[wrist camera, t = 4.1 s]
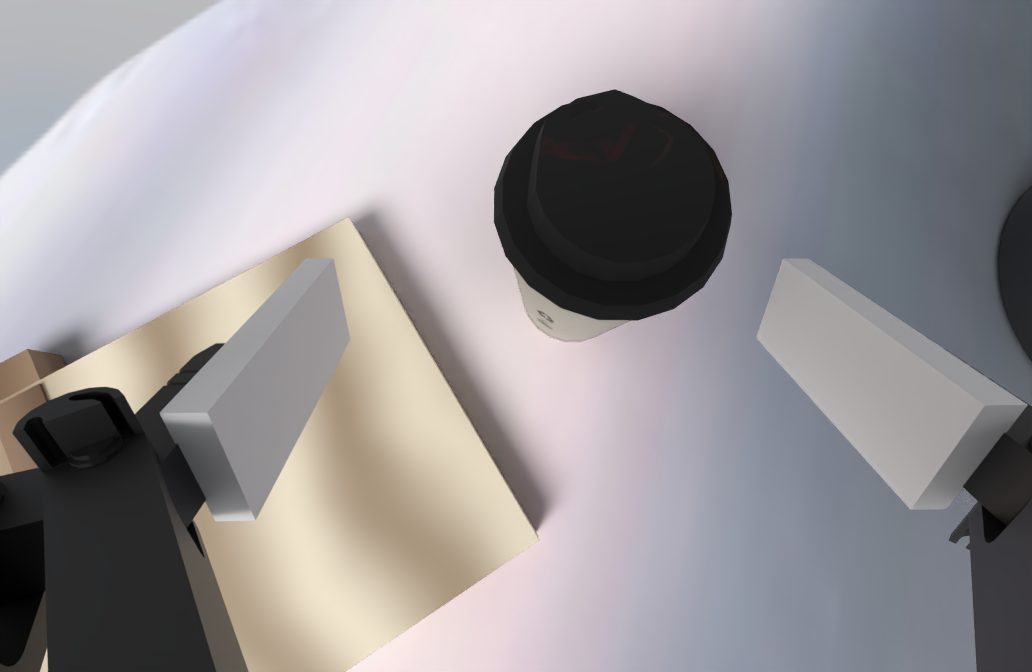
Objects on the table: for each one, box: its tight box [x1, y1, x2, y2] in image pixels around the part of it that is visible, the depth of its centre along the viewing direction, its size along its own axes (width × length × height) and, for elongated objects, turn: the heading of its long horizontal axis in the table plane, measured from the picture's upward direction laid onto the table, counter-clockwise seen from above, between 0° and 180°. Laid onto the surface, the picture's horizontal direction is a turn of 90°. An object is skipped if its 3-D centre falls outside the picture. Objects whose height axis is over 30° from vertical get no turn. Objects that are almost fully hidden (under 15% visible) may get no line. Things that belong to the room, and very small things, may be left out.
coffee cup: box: [494, 90, 732, 342], centre depth 17 cm, size 7×7×10 cm
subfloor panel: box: [0, 217, 539, 672], centre depth 19 cm, size 20×19×2 cm
